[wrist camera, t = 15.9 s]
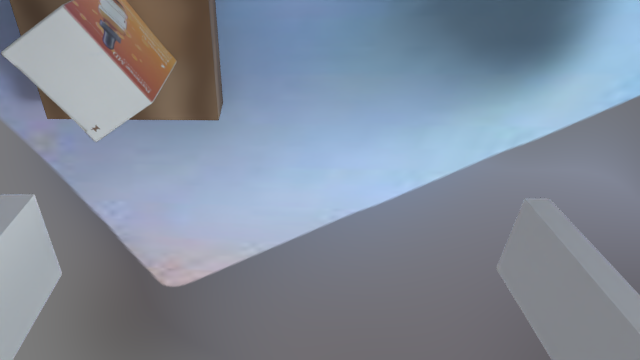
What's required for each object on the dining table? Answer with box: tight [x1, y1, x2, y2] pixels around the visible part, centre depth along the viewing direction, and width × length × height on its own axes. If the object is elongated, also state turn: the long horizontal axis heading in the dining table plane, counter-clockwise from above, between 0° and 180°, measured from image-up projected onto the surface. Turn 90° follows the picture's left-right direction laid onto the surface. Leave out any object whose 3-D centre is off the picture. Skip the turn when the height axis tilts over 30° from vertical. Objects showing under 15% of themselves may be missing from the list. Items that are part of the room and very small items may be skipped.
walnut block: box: [10, 0, 223, 120], centre depth 39 cm, size 16×16×5 cm
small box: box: [1, 0, 177, 142], centre depth 33 cm, size 8×6×10 cm
